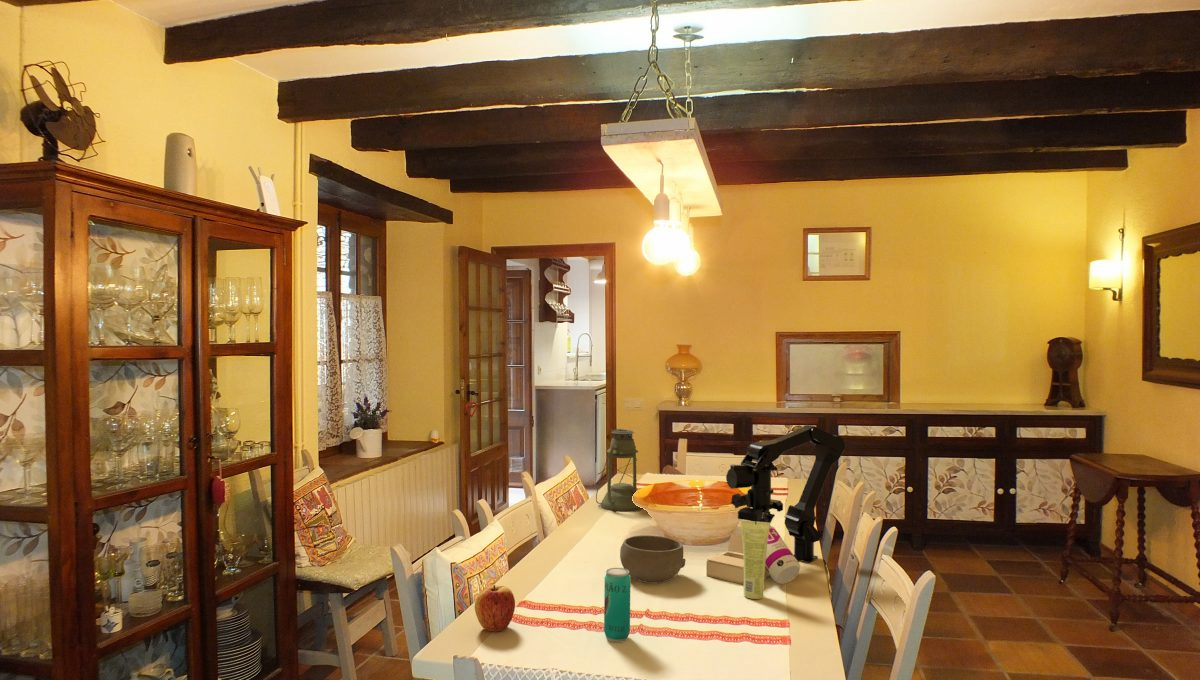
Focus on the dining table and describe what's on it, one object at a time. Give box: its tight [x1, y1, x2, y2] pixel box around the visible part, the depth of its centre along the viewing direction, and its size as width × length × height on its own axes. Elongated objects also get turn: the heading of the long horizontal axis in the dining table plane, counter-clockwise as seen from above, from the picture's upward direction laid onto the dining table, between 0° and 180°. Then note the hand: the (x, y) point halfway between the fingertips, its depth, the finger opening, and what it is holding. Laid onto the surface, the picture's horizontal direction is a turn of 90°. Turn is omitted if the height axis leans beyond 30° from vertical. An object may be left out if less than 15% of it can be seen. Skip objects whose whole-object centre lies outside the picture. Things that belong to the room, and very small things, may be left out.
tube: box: [740, 519, 771, 600], centre depth 197 cm, size 6×5×20 cm
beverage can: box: [603, 567, 631, 643], centre depth 169 cm, size 6×6×15 cm
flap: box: [727, 533, 743, 554], centre depth 220 cm, size 5×14×1 cm
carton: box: [705, 550, 771, 585], centre depth 214 cm, size 12×14×5 cm
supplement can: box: [765, 525, 801, 584], centre depth 210 cm, size 8×8×15 cm
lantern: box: [595, 428, 642, 513], centre depth 297 cm, size 21×18×30 cm
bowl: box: [619, 534, 686, 584], centre depth 211 cm, size 17×18×10 cm
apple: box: [474, 584, 516, 632], centre depth 174 cm, size 9×9×10 cm
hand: (760, 538), depth 225 cm, fingers closed
